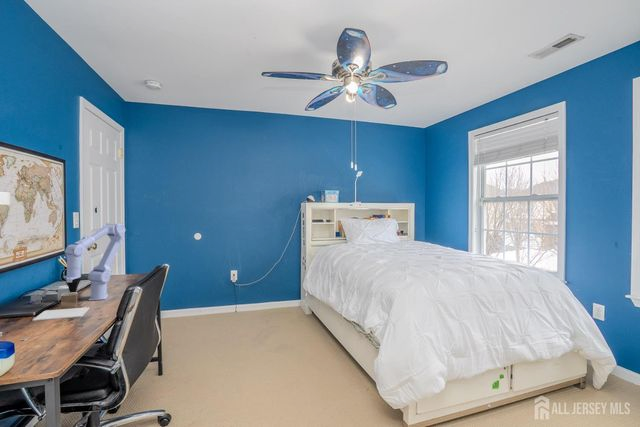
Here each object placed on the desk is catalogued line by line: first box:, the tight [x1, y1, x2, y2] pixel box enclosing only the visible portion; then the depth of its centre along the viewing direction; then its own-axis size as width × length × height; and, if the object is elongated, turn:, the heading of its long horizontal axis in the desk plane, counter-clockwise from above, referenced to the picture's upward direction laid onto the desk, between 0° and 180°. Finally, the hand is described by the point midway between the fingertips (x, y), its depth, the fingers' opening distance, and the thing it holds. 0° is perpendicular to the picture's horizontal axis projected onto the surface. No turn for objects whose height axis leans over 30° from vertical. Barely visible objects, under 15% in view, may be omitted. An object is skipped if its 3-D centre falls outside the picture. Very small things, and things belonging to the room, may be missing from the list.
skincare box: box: [57, 285, 70, 299], centre depth 169 cm, size 6×6×7 cm
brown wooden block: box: [60, 291, 78, 309], centre depth 155 cm, size 2×6×8 cm, turn 115°
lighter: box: [30, 287, 50, 302], centre depth 161 cm, size 7×2×8 cm, turn 117°
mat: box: [31, 306, 90, 322], centre depth 147 cm, size 14×18×1 cm
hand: (72, 293), depth 160 cm, fingers closed
